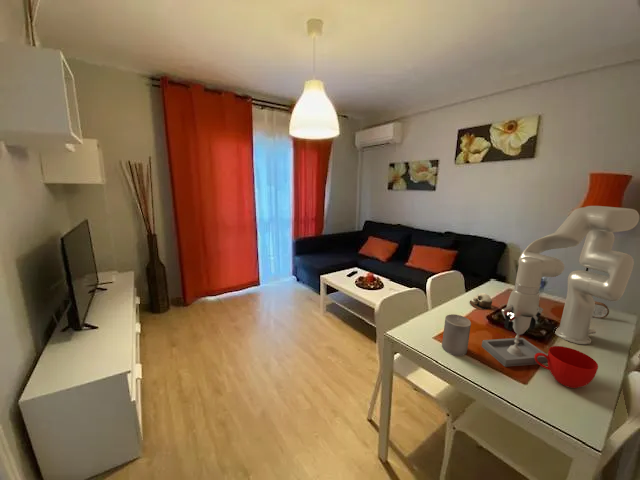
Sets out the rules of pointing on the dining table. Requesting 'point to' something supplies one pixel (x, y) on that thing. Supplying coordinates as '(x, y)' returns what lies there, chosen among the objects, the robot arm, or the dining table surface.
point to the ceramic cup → (569, 366)
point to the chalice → (519, 327)
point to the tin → (600, 310)
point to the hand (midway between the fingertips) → (518, 328)
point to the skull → (482, 302)
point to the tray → (506, 359)
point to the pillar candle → (456, 334)
